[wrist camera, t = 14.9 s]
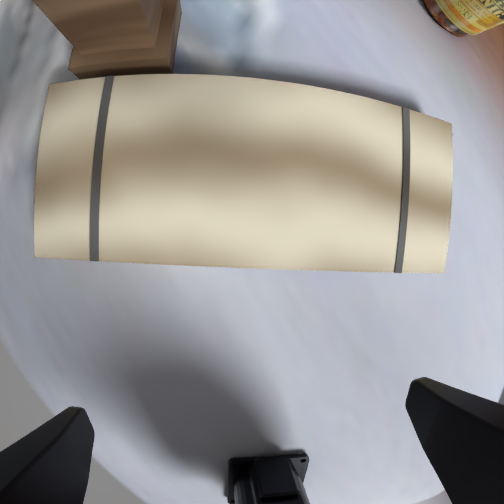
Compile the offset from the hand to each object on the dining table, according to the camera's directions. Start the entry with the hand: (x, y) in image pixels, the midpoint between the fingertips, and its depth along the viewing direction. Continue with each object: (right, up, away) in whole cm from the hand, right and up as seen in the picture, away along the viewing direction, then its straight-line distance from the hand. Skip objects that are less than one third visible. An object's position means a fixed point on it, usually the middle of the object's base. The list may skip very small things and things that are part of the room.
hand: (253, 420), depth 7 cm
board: (0, +9, +11) cm, 14 cm away
